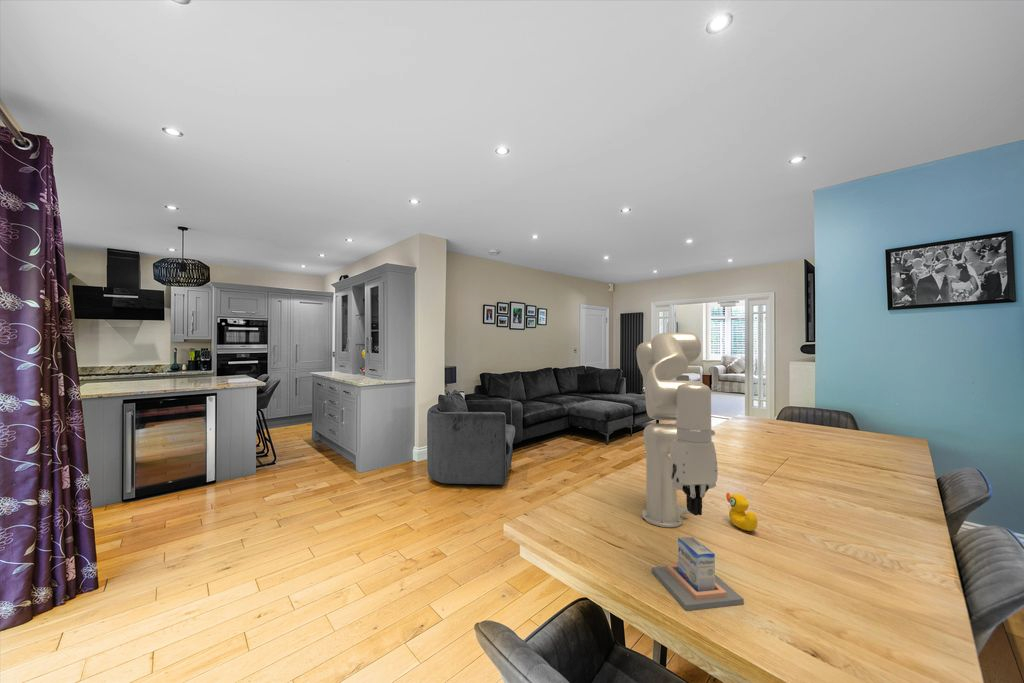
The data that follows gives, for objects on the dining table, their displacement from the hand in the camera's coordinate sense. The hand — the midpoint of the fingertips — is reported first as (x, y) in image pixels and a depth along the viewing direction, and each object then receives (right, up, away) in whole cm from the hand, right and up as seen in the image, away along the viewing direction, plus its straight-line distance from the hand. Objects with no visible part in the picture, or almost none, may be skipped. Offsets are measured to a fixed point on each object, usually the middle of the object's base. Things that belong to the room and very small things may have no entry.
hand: (694, 512), depth 88 cm
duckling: (+30, -19, +30) cm, 46 cm away
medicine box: (0, -17, 0) cm, 17 cm away
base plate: (0, -18, 0) cm, 18 cm away
